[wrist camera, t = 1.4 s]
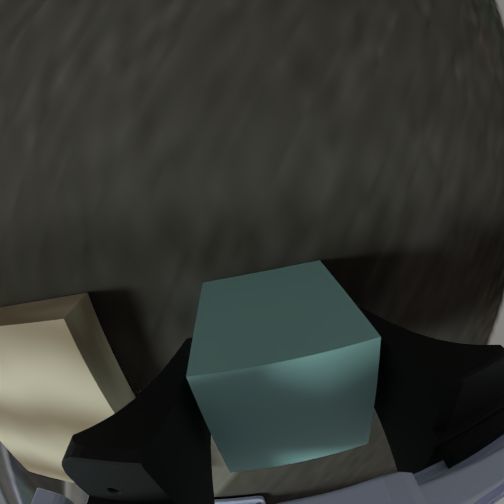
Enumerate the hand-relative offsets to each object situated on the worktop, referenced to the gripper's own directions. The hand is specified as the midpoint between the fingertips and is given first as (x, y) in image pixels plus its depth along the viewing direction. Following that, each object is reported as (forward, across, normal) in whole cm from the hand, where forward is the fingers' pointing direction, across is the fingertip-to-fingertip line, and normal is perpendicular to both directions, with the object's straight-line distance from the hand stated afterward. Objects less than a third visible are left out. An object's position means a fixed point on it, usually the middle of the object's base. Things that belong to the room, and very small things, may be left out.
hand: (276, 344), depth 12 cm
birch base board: (+2, +15, +4) cm, 16 cm away
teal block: (+2, 0, 0) cm, 2 cm away
